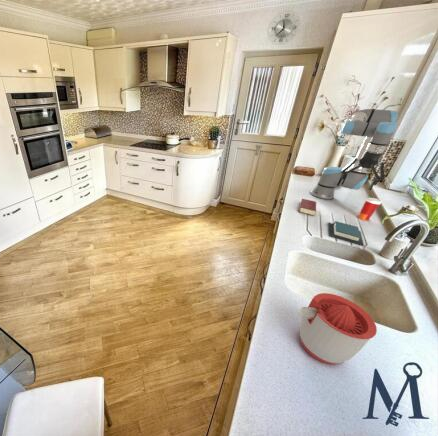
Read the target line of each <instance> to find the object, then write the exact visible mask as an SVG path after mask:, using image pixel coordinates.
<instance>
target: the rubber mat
mask: <svg viewBox="0 0 438 436" xmlns="http://www.w3.org/2000/svg"><path fill="white" fill-rule="evenodd" d="M333 224H334V223H333V222H332V223H331V222H328V236H329V237H331V238H335V239H338V240H342V241H345V242H348V243H352V244H355V245H359V246H363V247H364V241H363V237H362V234H361V231H360V230H359V233H360V237H361V238H359V240H358V242H356V241H353V240H349V239H346V238H342V237H339V236H335V235H334V231H333Z"/></svg>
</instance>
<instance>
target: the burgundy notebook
mask: <svg viewBox="0 0 438 436" xmlns="http://www.w3.org/2000/svg"><path fill="white" fill-rule="evenodd" d="M316 211H317V201H314V200H311V199H306V198H301V201H300V202H299V208H298V213H301V214H305V215H308V216H313V217H314V215H315V213H316Z"/></svg>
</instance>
